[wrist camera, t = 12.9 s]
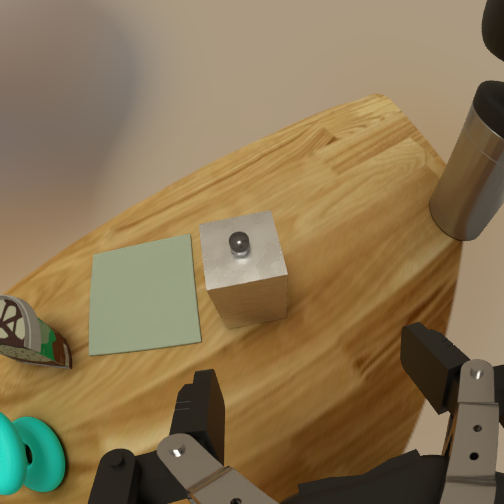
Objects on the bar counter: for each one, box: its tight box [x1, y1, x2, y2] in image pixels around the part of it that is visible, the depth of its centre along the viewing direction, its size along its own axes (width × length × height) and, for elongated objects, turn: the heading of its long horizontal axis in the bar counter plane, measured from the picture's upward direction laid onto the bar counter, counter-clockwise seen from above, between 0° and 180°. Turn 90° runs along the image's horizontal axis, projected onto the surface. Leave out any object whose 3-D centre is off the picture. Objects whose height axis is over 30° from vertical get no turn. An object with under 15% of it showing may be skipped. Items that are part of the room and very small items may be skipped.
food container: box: [0, 295, 72, 369], centre depth 30 cm, size 12×6×10 cm, turn 93°
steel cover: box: [199, 210, 288, 329], centre depth 30 cm, size 6×6×12 cm
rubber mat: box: [89, 234, 202, 356], centre depth 36 cm, size 14×14×1 cm
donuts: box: [0, 412, 65, 495], centre depth 22 cm, size 10×10×10 cm
